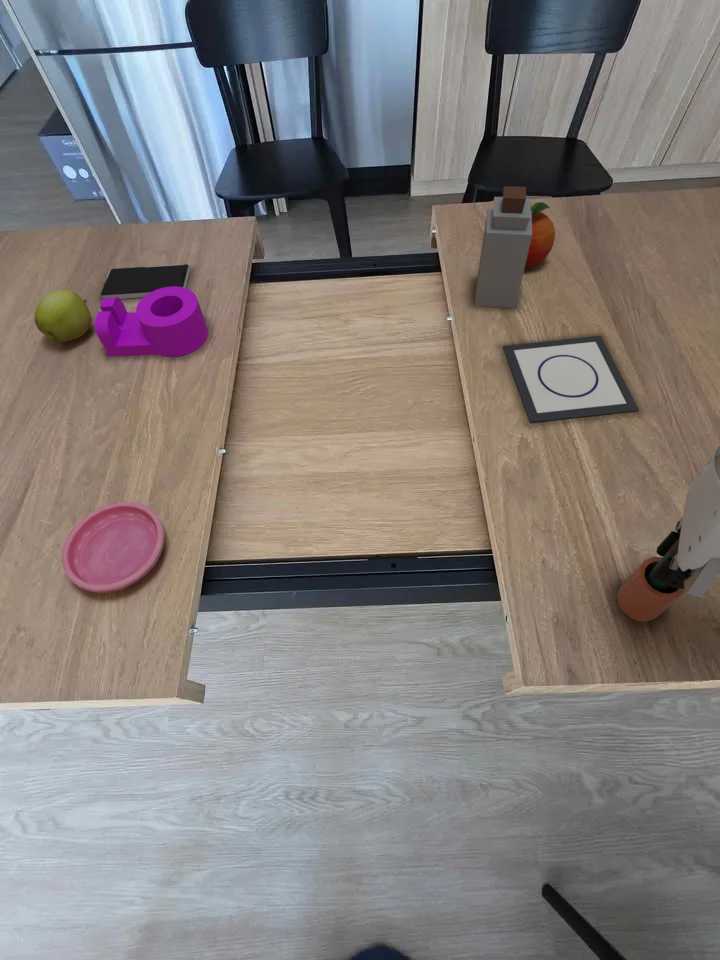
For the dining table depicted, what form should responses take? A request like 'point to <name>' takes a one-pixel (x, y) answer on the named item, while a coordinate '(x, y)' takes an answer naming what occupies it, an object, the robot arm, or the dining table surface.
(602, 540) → the dining table surface
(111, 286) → the smartphone
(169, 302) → the tape dispenser
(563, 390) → the target board
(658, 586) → the marker
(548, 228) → the fruit
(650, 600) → the pen pot
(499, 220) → the perfume bottle
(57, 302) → the apple
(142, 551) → the saucer
